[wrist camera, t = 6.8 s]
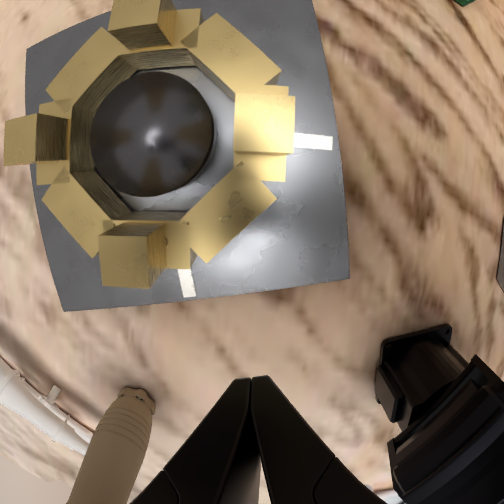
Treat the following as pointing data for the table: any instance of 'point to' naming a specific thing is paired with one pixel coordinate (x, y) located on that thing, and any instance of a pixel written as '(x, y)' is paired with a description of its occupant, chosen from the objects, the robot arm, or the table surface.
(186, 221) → the octagonal socket base
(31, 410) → the white tapered multi-tube piece
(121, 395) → the handle
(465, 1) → the coffee box
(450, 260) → the table surface
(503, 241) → the tankard
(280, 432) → the robot arm
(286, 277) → the cap plate
